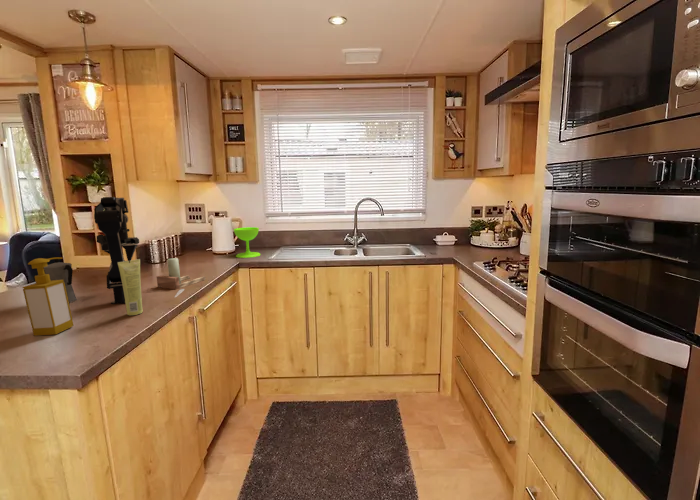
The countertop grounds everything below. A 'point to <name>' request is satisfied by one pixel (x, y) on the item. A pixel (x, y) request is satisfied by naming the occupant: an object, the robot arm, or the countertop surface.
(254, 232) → the wineglass
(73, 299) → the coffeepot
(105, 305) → the countertop surface
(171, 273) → the keeper post
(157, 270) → the countertop surface
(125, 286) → the tube
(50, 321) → the soap bottle
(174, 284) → the brown piece
